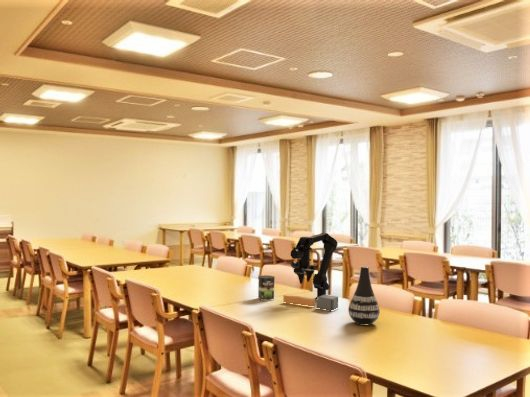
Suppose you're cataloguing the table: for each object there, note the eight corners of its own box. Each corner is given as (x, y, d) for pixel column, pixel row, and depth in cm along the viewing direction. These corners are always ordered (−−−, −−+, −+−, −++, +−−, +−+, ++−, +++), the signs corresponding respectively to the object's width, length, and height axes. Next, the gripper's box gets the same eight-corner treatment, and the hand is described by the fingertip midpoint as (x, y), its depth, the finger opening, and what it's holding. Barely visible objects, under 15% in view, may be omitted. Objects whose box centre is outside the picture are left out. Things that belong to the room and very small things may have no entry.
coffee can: (276, 300, 302) (276, 277, 302) (260, 301, 300) (260, 278, 299) (271, 296, 312) (272, 275, 312) (256, 297, 310) (256, 275, 309)
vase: (356, 328, 241) (357, 269, 241) (343, 320, 256) (344, 265, 256) (385, 327, 245) (386, 268, 245) (370, 319, 261) (371, 264, 260)
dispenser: (316, 309, 281) (316, 296, 281) (322, 306, 287) (322, 294, 287) (332, 311, 275) (332, 298, 275) (337, 308, 282) (338, 296, 282)
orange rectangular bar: (283, 303, 295) (283, 295, 295) (285, 302, 298) (286, 294, 298) (312, 308, 285) (313, 299, 284) (315, 307, 287) (315, 298, 287)
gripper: (300, 254, 310) (300, 279, 310) (286, 257, 294) (285, 283, 294) (316, 256, 304) (315, 281, 304) (302, 259, 288) (302, 285, 289)
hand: (304, 282), depth 298 cm, fingers open, 9 cm apart
